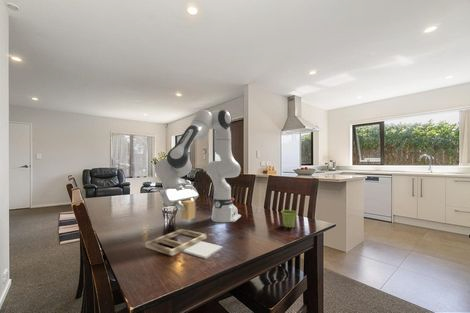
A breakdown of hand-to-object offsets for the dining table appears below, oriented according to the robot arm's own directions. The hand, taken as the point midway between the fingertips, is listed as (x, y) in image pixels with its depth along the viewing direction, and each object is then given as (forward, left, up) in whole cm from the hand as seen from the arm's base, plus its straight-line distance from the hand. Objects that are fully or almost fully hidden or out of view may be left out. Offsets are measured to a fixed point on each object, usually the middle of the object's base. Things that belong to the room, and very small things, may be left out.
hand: (189, 208), depth 101 cm
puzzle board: (+2, -5, -16) cm, 17 cm away
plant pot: (-51, +34, -17) cm, 63 cm away
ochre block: (0, -1, -5) cm, 5 cm away
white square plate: (+2, +11, -16) cm, 20 cm away
